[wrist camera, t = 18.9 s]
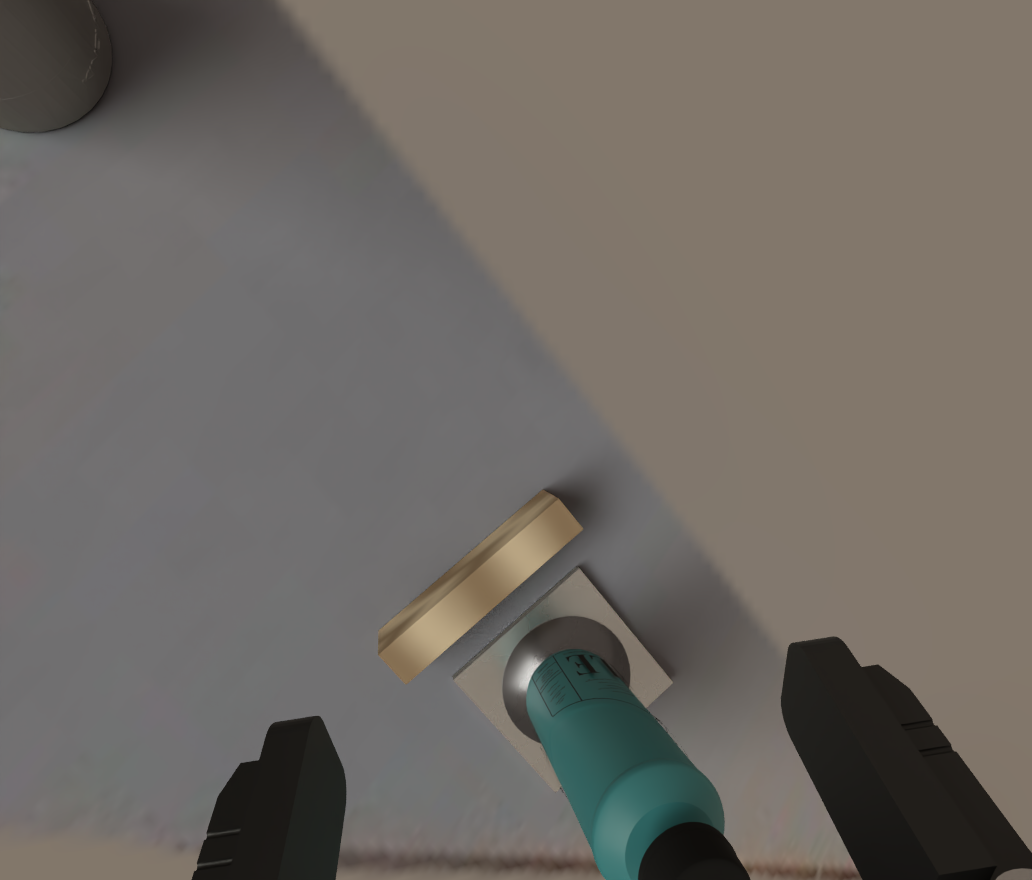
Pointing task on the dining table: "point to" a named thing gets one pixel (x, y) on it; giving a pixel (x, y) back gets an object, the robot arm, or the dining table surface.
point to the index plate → (539, 634)
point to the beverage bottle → (626, 776)
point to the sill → (475, 585)
